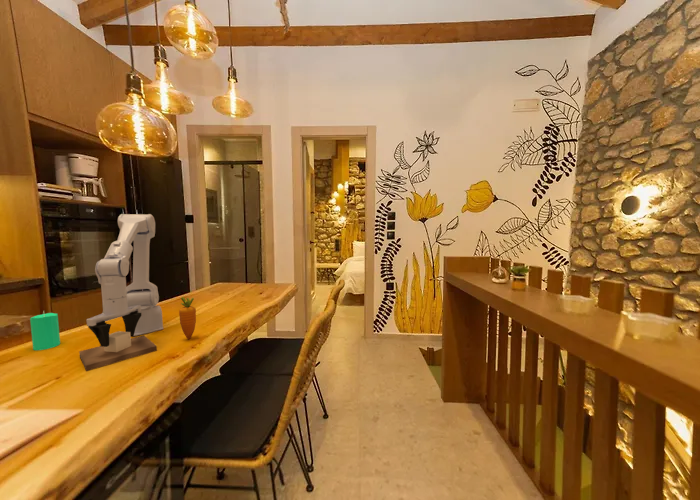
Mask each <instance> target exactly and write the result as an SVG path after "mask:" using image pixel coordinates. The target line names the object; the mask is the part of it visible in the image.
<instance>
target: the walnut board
mask: <svg viewBox="0 0 700 500" xmlns="http://www.w3.org/2000/svg"><path fill="white" fill-rule="evenodd" d="M156 351H158V347H157V345H156V343H154V342H153V341H152V340H150V339H149V338H148V337H147V336H145V334H142V335H141V336H140V335H138V336H134V337H132V338H131V346H130V347H128V348H125V349H123V350H121V351H118V352H107V351H104V347H101V345H100V346H96V347H92V348H88V349H84V350H80V351H78V353H79V358H80V360H81V363H82V364H83V366H84V369H85V371H86V372H89V371H91V370H95V369H97V368H102V367H105V366H108V365H112V364H115V363H119V362H121V361H125V360H129V359H133V358H136V357H139V356H143V355H146V354H149V353H153V352H156Z"/></svg>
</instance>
